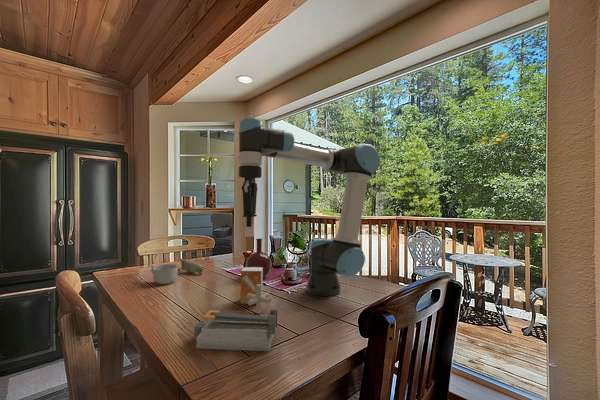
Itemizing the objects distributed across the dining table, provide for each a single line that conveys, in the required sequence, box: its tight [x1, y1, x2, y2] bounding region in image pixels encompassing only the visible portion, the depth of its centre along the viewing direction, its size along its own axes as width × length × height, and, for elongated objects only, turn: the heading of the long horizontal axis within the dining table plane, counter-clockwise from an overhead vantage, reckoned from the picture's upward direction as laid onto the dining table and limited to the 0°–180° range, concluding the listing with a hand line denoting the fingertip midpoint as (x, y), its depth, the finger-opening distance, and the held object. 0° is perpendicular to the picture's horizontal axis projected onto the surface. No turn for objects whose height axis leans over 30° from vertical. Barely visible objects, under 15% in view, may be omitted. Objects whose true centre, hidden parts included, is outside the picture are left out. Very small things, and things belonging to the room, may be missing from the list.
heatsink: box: [193, 308, 279, 352], centre depth 84 cm, size 23×12×8 cm, turn 87°
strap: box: [203, 309, 268, 322], centre depth 84 cm, size 20×5×1 cm, turn 87°
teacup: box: [150, 263, 179, 286], centre depth 140 cm, size 14×11×8 cm
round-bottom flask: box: [245, 238, 273, 278], centre depth 151 cm, size 13×13×20 cm
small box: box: [240, 266, 264, 305], centre depth 115 cm, size 8×6×13 cm
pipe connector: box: [247, 284, 272, 315], centre depth 104 cm, size 10×10×10 cm
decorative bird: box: [177, 258, 204, 276], centre depth 158 cm, size 5×16×7 cm, turn 64°
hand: (249, 236), depth 97 cm, fingers closed
